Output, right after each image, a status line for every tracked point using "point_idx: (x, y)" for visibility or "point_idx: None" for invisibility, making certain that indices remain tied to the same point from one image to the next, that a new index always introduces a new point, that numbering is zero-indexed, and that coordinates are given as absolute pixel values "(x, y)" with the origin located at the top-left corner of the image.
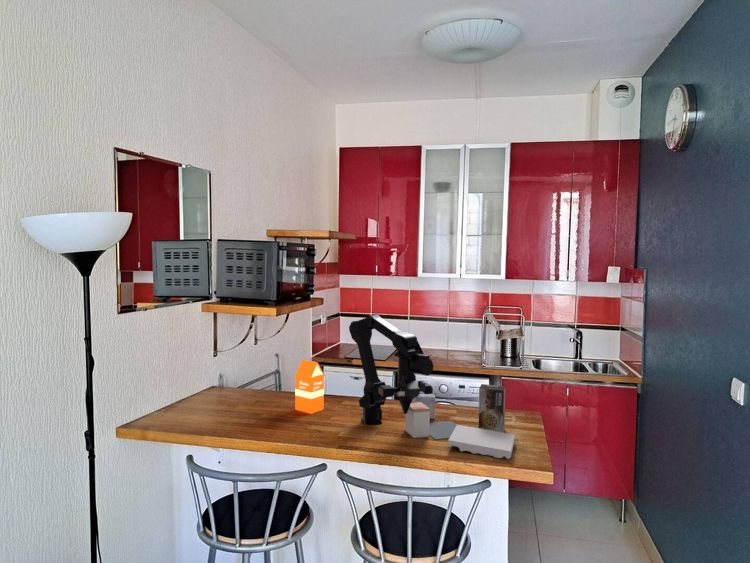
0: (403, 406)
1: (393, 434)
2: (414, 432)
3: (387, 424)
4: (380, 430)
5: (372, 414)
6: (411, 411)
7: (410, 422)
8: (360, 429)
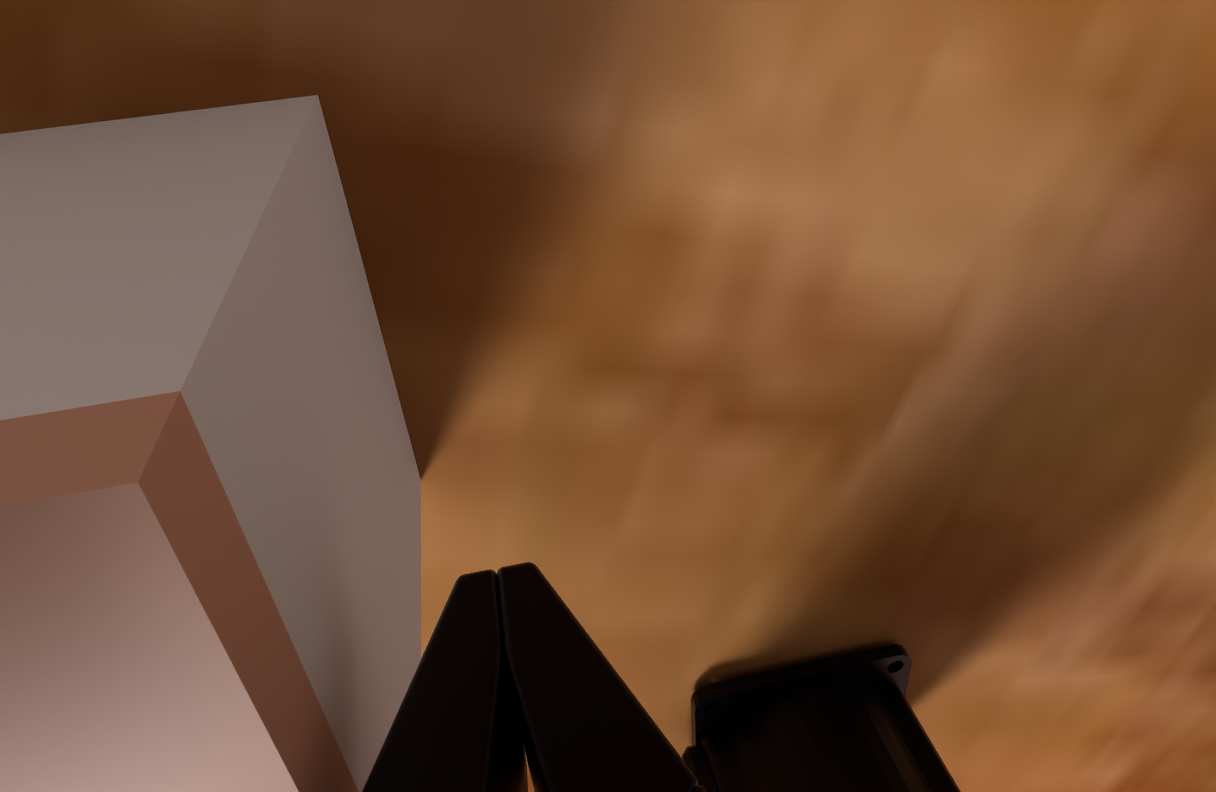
0: (663, 756)
1: (669, 317)
2: (280, 127)
3: (630, 666)
4: (803, 482)
5: (877, 782)
6: (290, 602)
7: (346, 406)
8: (1031, 518)
